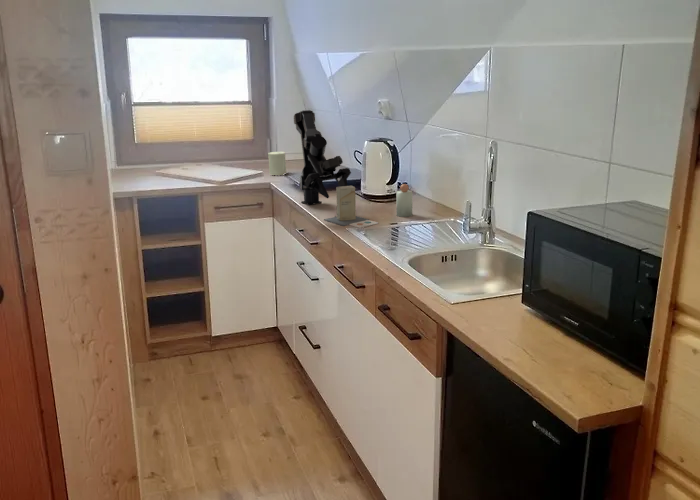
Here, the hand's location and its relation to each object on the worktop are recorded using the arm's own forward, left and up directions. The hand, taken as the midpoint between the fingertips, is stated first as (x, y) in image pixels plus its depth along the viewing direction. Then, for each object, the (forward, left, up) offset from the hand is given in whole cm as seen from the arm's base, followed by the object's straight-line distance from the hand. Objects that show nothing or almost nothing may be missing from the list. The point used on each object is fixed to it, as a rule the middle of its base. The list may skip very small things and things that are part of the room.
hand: (338, 195), depth 234 cm
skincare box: (+5, 0, -8) cm, 10 cm away
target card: (+14, +1, -9) cm, 16 cm away
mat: (+5, 0, -9) cm, 10 cm away
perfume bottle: (+14, +21, -9) cm, 26 cm away
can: (-100, +36, -9) cm, 107 cm away
